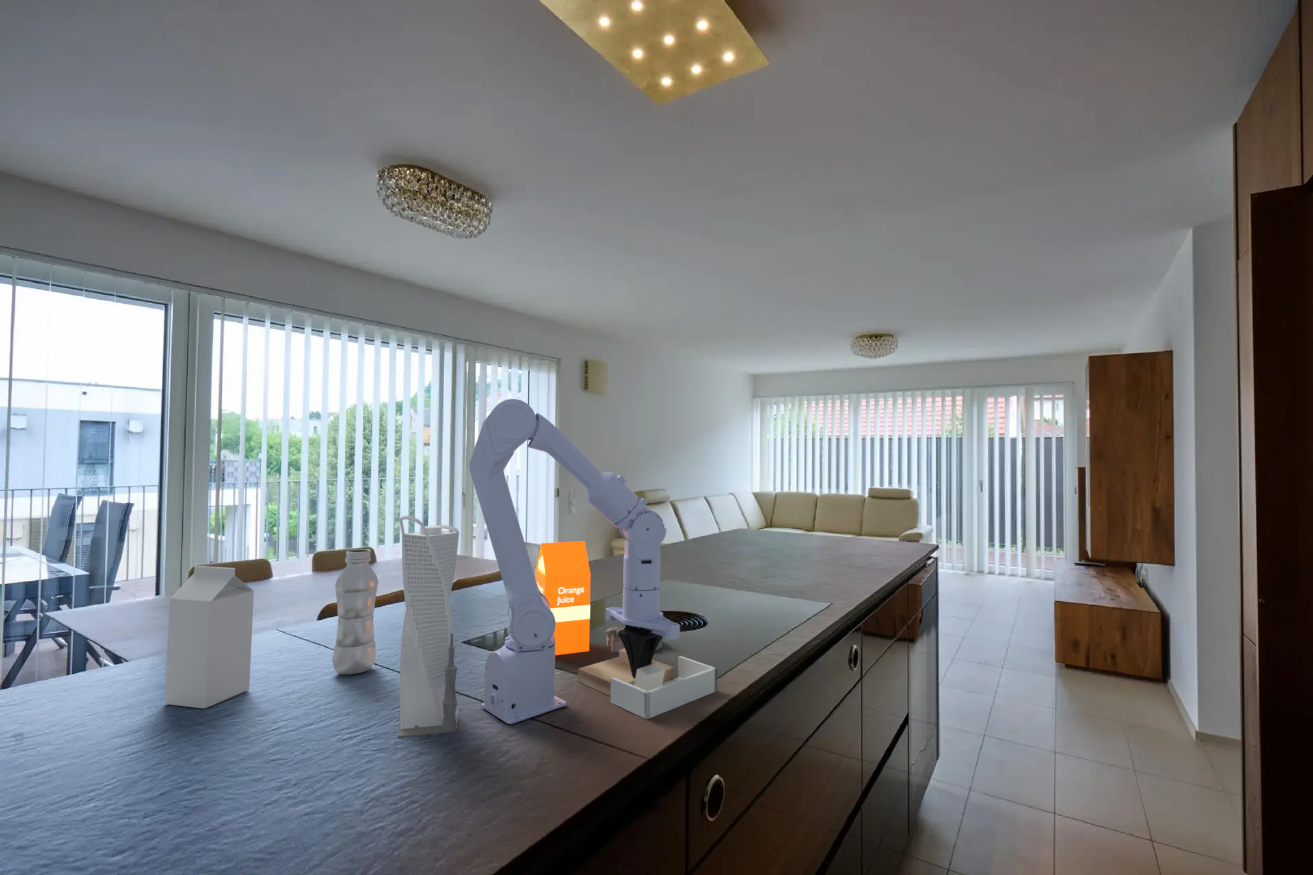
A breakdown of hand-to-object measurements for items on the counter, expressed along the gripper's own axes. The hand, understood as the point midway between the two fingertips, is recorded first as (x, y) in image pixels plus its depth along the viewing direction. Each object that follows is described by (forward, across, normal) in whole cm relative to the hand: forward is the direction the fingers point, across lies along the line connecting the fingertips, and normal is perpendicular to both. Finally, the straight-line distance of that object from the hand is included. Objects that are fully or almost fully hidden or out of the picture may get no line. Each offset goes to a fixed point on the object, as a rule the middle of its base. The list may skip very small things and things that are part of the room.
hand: (640, 677), depth 89 cm
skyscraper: (+3, +13, +28) cm, 31 cm away
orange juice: (+3, +27, -4) cm, 28 cm away
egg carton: (+3, +19, -16) cm, 25 cm away
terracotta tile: (+1, +7, -6) cm, 9 cm away
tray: (+3, -3, -2) cm, 5 cm away
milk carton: (+3, +42, +48) cm, 63 cm away
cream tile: (0, -1, 0) cm, 1 cm away
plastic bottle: (+3, +39, +28) cm, 48 cm away
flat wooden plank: (+3, +6, -2) cm, 7 cm away
